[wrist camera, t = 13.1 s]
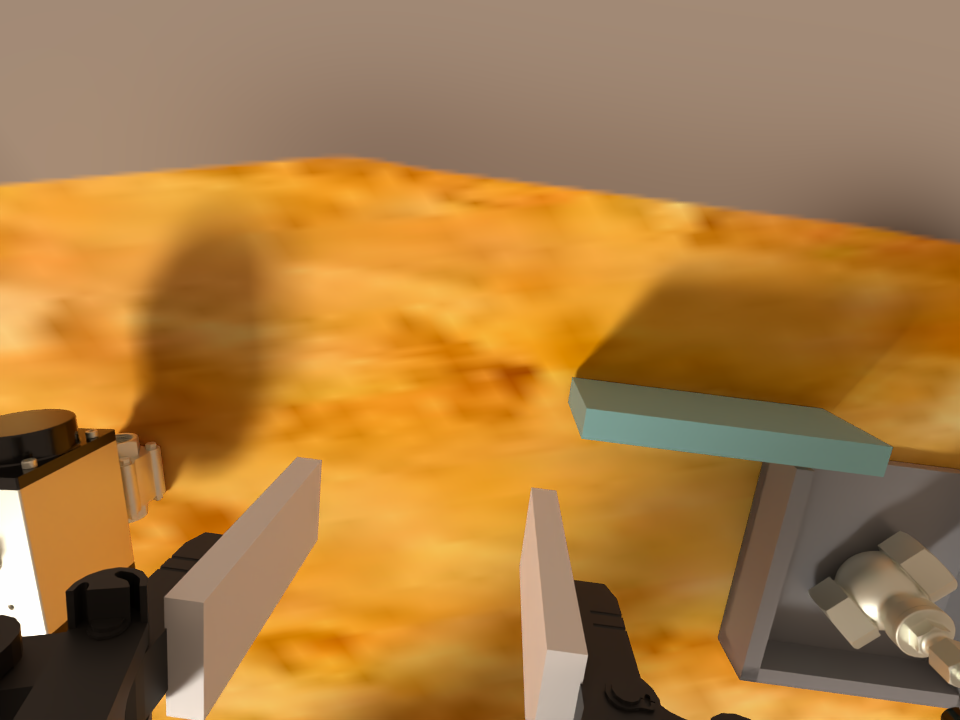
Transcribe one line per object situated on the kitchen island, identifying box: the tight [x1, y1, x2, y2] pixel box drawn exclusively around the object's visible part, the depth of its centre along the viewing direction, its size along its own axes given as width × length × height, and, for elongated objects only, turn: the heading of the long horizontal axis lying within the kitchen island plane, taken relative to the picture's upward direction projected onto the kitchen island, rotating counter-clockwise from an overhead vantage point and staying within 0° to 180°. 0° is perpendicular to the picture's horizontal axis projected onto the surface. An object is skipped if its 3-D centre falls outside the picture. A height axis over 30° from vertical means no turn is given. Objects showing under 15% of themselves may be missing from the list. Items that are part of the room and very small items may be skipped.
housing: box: [718, 461, 960, 708], centre depth 31 cm, size 17×17×6 cm
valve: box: [808, 531, 960, 720], centre depth 28 cm, size 7×7×12 cm
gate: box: [568, 377, 893, 477], centre depth 29 cm, size 2×15×6 cm, turn 84°
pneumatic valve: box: [0, 409, 166, 637], centre depth 30 cm, size 6×12×12 cm, turn 0°
